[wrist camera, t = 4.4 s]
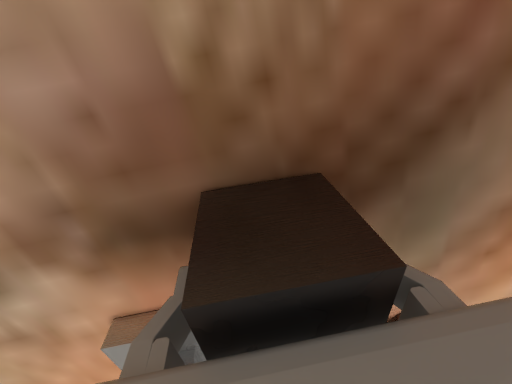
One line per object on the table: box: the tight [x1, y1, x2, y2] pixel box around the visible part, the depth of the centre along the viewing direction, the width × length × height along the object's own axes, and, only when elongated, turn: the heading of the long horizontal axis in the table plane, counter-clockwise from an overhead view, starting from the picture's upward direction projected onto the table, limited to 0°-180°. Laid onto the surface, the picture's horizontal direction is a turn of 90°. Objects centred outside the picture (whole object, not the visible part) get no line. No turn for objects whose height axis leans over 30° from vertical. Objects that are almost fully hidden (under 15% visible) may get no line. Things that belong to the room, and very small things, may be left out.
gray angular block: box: [101, 310, 207, 370], centre depth 16 cm, size 17×8×6 cm, turn 96°
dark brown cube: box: [181, 173, 407, 361], centre depth 11 cm, size 7×7×6 cm
